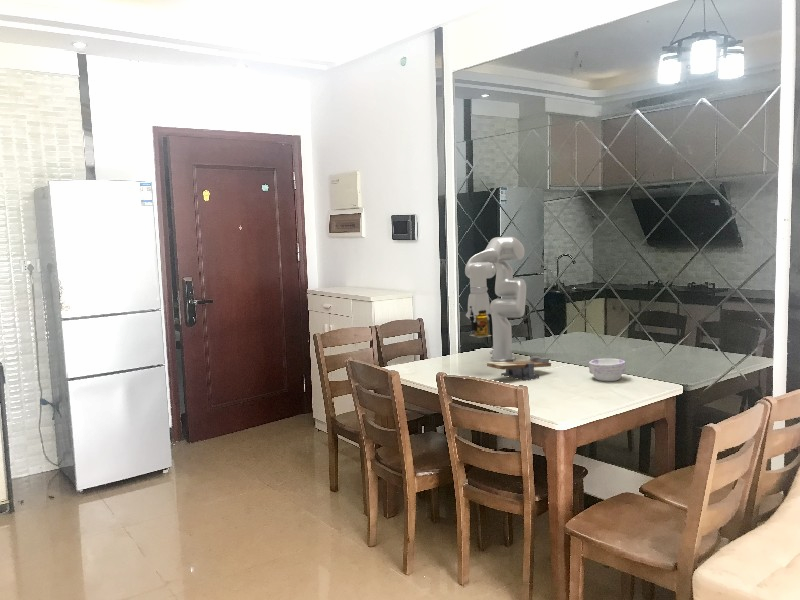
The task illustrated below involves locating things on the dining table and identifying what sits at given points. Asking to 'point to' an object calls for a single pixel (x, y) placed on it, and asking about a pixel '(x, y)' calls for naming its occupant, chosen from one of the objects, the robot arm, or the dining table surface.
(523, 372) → the stand
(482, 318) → the condiment
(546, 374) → the dining table surface
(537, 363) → the beam
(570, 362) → the dining table surface
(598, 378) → the lavender white bowl
